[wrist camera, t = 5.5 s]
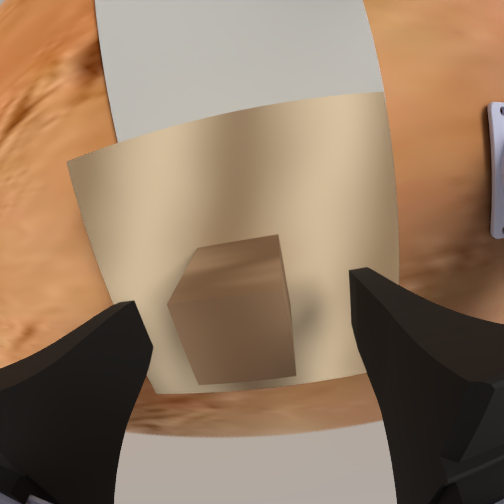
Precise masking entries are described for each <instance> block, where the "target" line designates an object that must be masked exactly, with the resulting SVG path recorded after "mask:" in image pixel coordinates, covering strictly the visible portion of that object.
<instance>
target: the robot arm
mask: <svg viewBox="0 0 504 504" xmlns="http://www.w3.org/2000/svg"><path fill="white" fill-rule="evenodd" d="M500 108H501V109H502V114H501V113H500ZM488 119H489V129H490V142H491V160H492V211H491V230H490V231H491V235H492V236H493V237H494V238H495V239H501V238H504V230H503V232H502V229H503V227H504V103H502V102H490V103H489V104H488ZM349 286H350V305H351V325H352V329H353V333H354V337H355V340H356V344H357V348H358V351H359V353H360V356H361V359H362V361H363V364H364V366H365V369H366V371H367V374H368V377H369V379H370V382H371V384H372V387H373V390H374V392H375V395H376V397H377V400H378V403H379V406H380V410H381V413H382V417H383V421H384V426H385V431H386V435H387V440H388V445H389V450H390V455H391V461H392V468H393V474H394V481H395V488H396V497H397V504H504V324H499V323H494V322H490V321H486V320H482V319H478V318H474V317H471V316H467V315H464V314H461V313H458V312H455V311H453V310H450V309H447V308H445V307H442V306H440V305H437V304H435V303H433V302H430V301H428V300H426V299H424V298H422V297H420V296H418V295H416V294H414V293H412V292H410V291H409V290H407V289H405V288H403V287H401V286H400V285H398V284H396V283H394V282H393V281H391V280H389V279H388V278H386V277H384V276H383V275H381V274H379V273H377V272H376V271H374V270H372V269H370V268H368V267H364V268H358V269H353V270H349ZM153 348H154V347H153V344H152V342H151V340H150V337H149V335H148V333H147V330H146V328H145V325H144V323H143V321H142V318H141V316H140V313H139V311H138V308H137V306H136V303H135V300H133V301H125V302H119V303H117V304H115V305H113V306H111V307H109V308H107V309H106V310H104V311H102V312H101V313H99V314H98V315H96V316H95V317H93V318H92V319H90V320H89V321H87V322H86V323H84V324H83V325H81V326H80V327H78V328H77V329H75V330H73V331H72V332H70V333H69V334H67V335H66V336H64V337H62V338H61V339H59V340H58V341H56V342H55V343H53V344H51V345H49V346H48V347H46V348H44V349H42V350H41V351H39V352H37V353H35V354H33V355H31V356H29V357H27V358H25V359H22V360H20V361H18V362H15V363H13V364H11V365H8V366H6V367H3V368H1V369H0V504H114V492H115V483H116V474H117V467H118V462H119V456H120V450H121V446H122V442H123V438H124V434H125V429H126V426H127V423H128V420H129V418H130V415H131V412H132V410H133V407H134V405H135V402H136V400H137V397H138V395H139V392H140V390H141V388H142V385H143V382H144V380H145V377H146V375H147V372H148V369H149V365H150V361H151V357H152V352H153Z"/></svg>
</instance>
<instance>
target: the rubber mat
mask: <svg viewBox="0 0 504 504" xmlns="http://www.w3.org/2000/svg"><path fill="white" fill-rule="evenodd" d="M95 7H96V17H97V26H98V34H99V41H100V48H101V55H102V62H103V68H104V74H105V80H106V86H107V91H108V97H109V102H110V107H111V112H112V117H113V122H114V127H115V131H116V136H117V140H118V143H119V142H122V141H125V140H128V139H131V138H135V137H138V136H141V135H144V134H148V133H151V132H154V131H158V130H161V129H165V128H168V127H172V126H176V125H179V124H183V123H187V122H191V121H195V120H199V119H203V118H207V117H211V116H216V115H220V114H225V113H229V112H234V111H239V110H244V109H249V108H254V107H260V106H265V105H271V104H277V103H283V102H289V101H296V100H303V99H310V98H318V97H327V96H336V95H346V94H357V93H370V92H384V88H383V83H382V77H381V72H380V68H379V63H378V58H377V54H376V49H375V45H374V41H373V37H372V33H371V29H370V25H369V21H368V18H367V14H366V11H365V7H364V4H363V0H95ZM384 97H385V94H384ZM385 102H386V99H385Z"/></svg>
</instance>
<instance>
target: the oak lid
mask: <svg viewBox="0 0 504 504" xmlns="http://www.w3.org/2000/svg"><path fill="white" fill-rule="evenodd" d="M67 166H68V170H69V173H70V177H71V181H72V185H73V188H74V192H75V196H76V199H77V202H78V206H79V209H80V212H81V216H82V219H83V222H84V225H85V228H86V231H87V234H88V237H89V240H90V243H91V246H92V249H93V252H94V255H95V257H96V260H97V263H98V266H99V268H100V271H101V274H102V276H103V279H104V281H105V284H106V287H107V289H108V292H109V294H110V297H111V299H112V301H113V304H114V305H115V304H117V303H119V302H125V301H133V300H135V303H136V306H137V308H138V311H139V313H140V316H141V318H142V321H143V323H144V325H145V328H146V330H147V333H148V335H149V337H150V340H151V342H152V344H153V347H154V348H153V352H152V357H151V361H150V365H149V369H148V372H147V377H148V379H149V381H150V382H151V384H152V386H153V388H154V390H155V392H156V394H188V393H212V392H228V391H241V390H253V389H263V388H273V387H281V386H289V385H297V384H304V383H311V382H318V381H324V380H330V379H336V378H342V377H347V376H353V375H358V374H363V373H367V371H366V369H365V366H364V364H363V361H362V359H361V356H360V353H359V351H358V348H357V344H356V340H355V337H354V333H353V329H352V325H351V305H350V286H349V270H353V269H358V268H364V267H368V268H370V269H372V270H374V271H376V272H377V273H379V274H381V275H383V276H384V277H386V278H388V279H389V280H391V281H393V282H394V283H396V284H398V285H399V228H398V207H397V192H396V180H395V169H394V160H393V151H392V143H391V135H390V128H389V121H388V115H387V108H386V102H385V97H384V92H370V93H357V94H346V95H336V96H327V97H318V98H310V99H303V100H296V101H289V102H283V103H277V104H271V105H265V106H260V107H254V108H249V109H244V110H239V111H234V112H229V113H225V114H220V115H216V116H211V117H207V118H203V119H199V120H195V121H191V122H187V123H183V124H179V125H176V126H172V127H168V128H165V129H161V130H158V131H154V132H151V133H148V134H144V135H141V136H138V137H135V138H131V139H128V140H125V141H122V142H119V143H116V144H113V145H110V146H108V147H105V148H102V149H99V150H96V151H93V152H91V153H88V154H85V155H83V156H80V157H78V158H75V159H72V160H70V161H67Z"/></svg>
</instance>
